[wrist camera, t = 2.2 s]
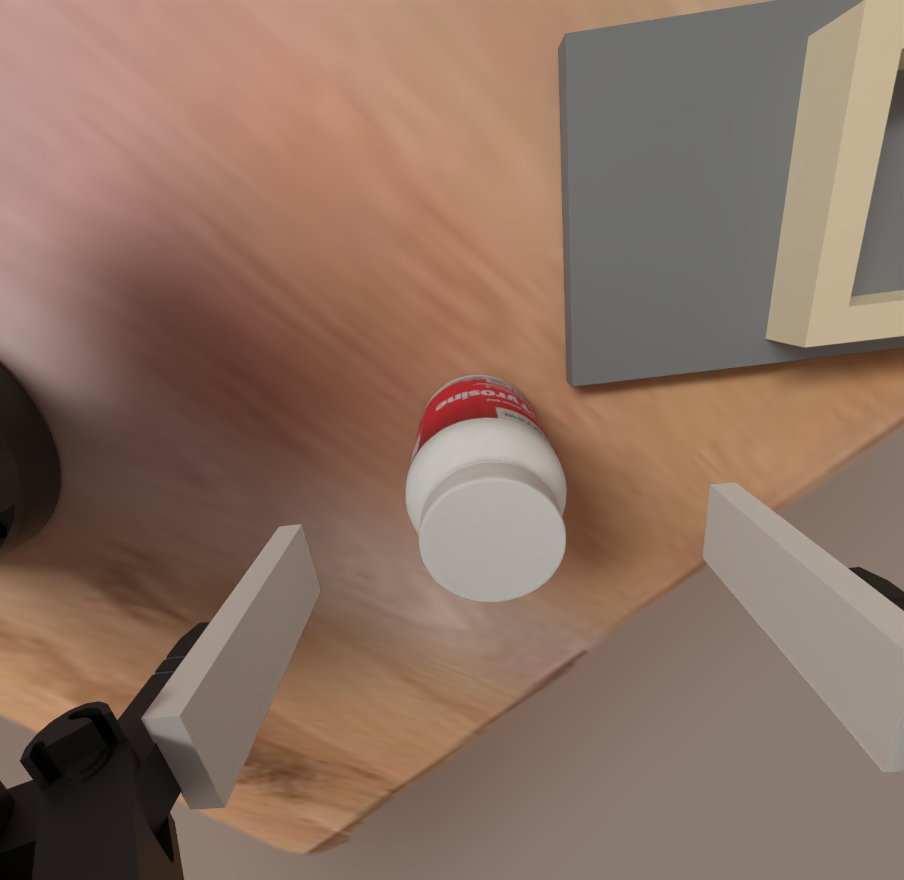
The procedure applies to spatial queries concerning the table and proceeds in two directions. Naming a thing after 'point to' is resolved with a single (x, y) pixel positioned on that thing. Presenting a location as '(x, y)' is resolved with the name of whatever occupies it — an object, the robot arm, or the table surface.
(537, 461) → the pill bottle
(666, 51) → the socket board
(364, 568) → the table surface
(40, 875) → the robot arm
